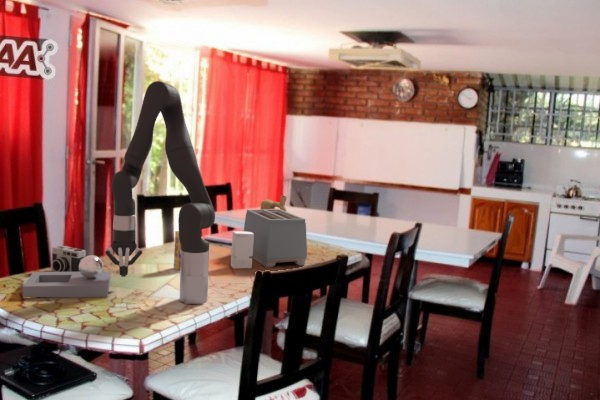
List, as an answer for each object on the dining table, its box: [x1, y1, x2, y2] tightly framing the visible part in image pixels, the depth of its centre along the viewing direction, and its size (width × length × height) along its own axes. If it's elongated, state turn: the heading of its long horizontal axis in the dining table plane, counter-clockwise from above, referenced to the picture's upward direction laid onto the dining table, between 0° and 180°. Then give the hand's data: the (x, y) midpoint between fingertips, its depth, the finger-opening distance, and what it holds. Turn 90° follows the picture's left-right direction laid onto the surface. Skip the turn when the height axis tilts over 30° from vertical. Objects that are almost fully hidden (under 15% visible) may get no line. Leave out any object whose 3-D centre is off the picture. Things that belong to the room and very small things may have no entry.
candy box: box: [173, 230, 181, 271], centre depth 236 cm, size 9×4×15 cm, turn 123°
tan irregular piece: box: [260, 195, 288, 212], centre depth 295 cm, size 17×20×25 cm
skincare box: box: [230, 230, 254, 270], centre depth 243 cm, size 8×6×15 cm
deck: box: [22, 270, 112, 299], centre depth 200 cm, size 18×26×4 cm
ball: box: [79, 254, 104, 279], centre depth 201 cm, size 8×8×8 cm
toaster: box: [243, 208, 308, 268], centre depth 262 cm, size 19×35×20 cm, turn 26°
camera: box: [51, 245, 87, 272], centre depth 220 cm, size 14×9×10 cm, turn 57°
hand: (123, 276), depth 204 cm, fingers closed
